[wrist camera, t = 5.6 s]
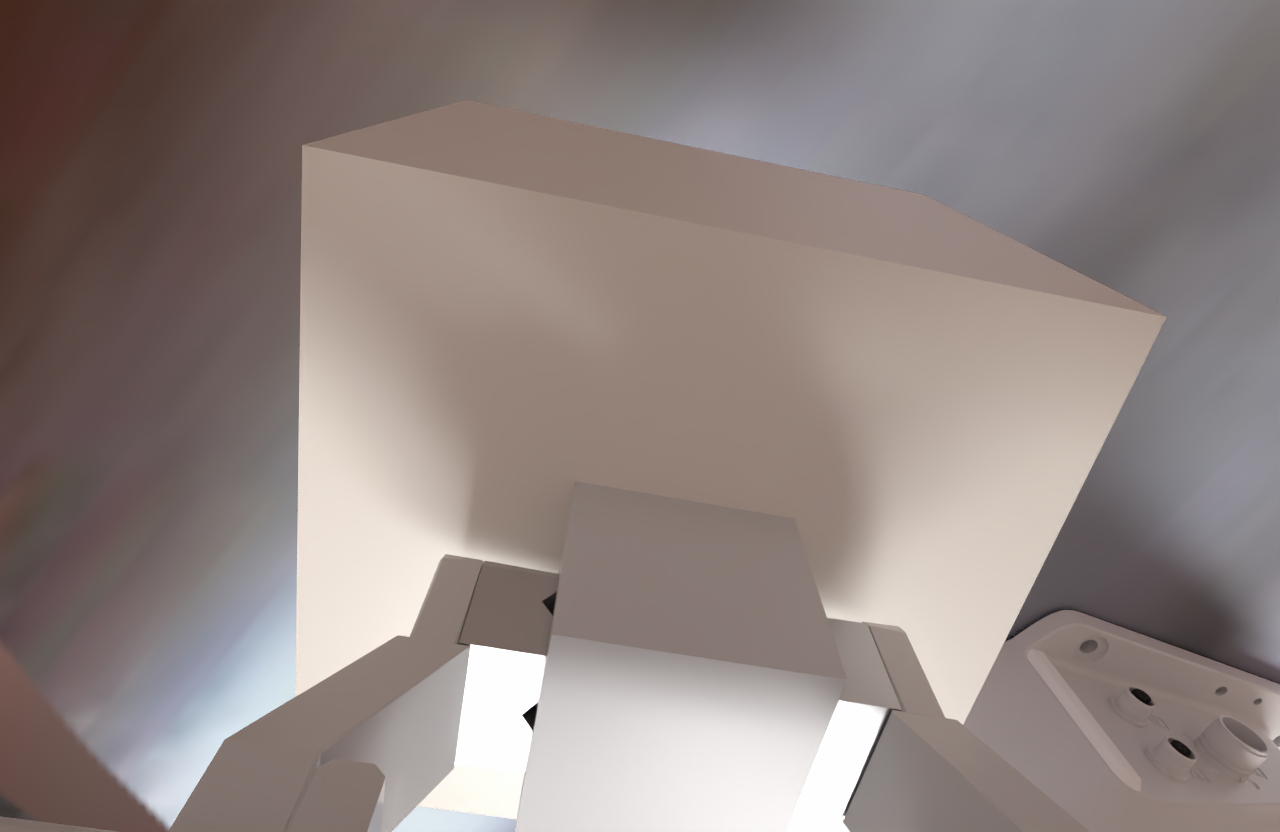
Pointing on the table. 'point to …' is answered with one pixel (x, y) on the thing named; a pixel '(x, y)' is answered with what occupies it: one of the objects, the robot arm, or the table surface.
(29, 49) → the table surface
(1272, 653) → the table surface
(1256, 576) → the table surface
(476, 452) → the white box
